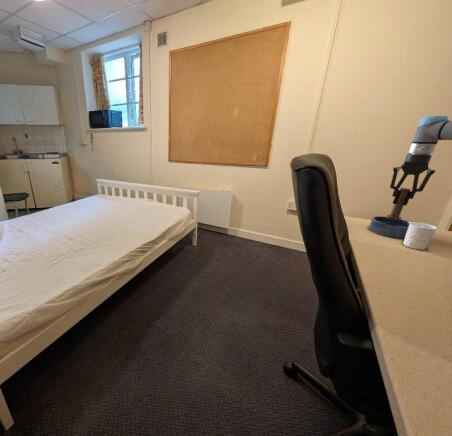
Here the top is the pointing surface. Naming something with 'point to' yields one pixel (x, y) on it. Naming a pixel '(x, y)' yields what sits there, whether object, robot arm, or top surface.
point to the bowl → (389, 226)
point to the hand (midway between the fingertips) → (399, 204)
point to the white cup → (419, 235)
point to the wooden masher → (399, 204)
